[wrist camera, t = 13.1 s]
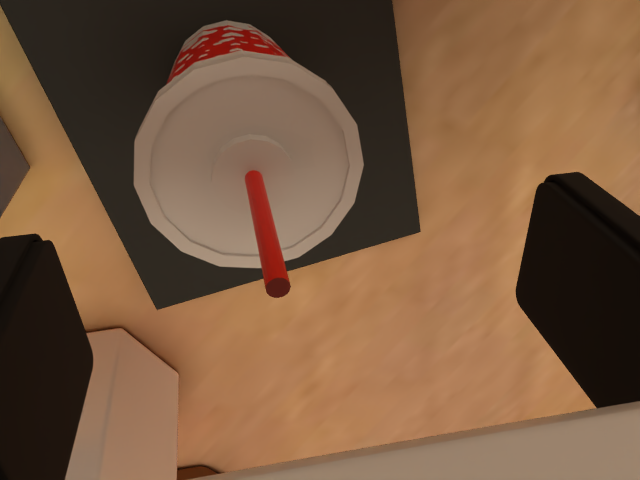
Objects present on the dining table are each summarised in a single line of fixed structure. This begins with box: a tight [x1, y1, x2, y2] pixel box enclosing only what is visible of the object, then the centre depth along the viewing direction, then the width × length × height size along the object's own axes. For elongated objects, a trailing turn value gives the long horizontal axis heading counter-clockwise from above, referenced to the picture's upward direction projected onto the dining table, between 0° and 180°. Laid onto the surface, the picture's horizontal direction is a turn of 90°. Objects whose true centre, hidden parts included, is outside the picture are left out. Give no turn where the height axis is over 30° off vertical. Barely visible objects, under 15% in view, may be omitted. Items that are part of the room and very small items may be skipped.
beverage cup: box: [134, 20, 364, 298], centre depth 16 cm, size 6×6×14 cm
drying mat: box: [0, 0, 420, 310], centre depth 22 cm, size 14×20×1 cm
